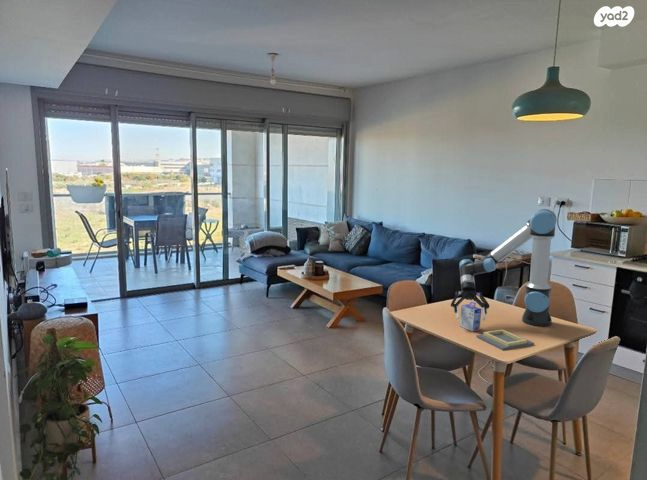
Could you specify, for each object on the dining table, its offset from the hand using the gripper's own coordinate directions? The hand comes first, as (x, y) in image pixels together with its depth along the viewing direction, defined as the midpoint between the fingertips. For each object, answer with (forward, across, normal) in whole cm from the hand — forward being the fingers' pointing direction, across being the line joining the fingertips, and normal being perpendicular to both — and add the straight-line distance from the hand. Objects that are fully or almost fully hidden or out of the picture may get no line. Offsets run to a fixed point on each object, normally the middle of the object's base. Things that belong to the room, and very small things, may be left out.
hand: (471, 318), depth 236 cm
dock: (+14, -14, +5) cm, 21 cm away
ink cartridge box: (+3, 0, -6) cm, 7 cm away
